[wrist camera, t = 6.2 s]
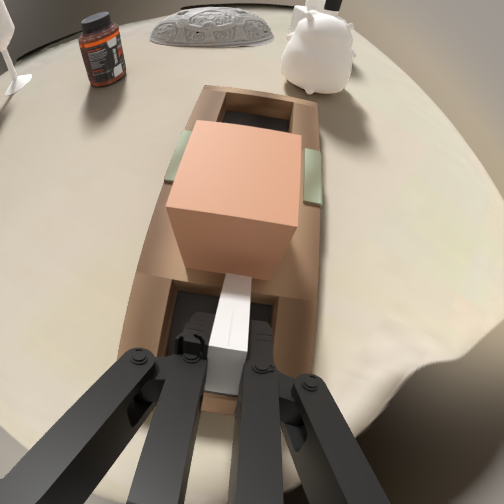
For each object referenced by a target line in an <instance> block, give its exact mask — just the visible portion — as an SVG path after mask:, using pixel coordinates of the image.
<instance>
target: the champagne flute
mask: <svg viewBox="0 0 504 504" xmlns="http://www.w3.org/2000/svg"><path fill="white" fill-rule="evenodd" d="M13 33H14V25H13V23H12V21H11V18H10V16H9V13H8V11H7V9H6V6H5V4H4V1H3V0H0V51H1V52H2V54H3V57H4V59H5V62H6V64H7V66H8V69H9V71H10V74H11V76H12V78H13V81H12V82H11V84H10V86H9V88H8V89H7V91H6V95H7V96H8V95H11V94H13V93H15V92H17V91H18V90H20V89H21V88H22V87H24V86H25V85H26V84H27V83H28V82H29V81H30V79H31V78H32V75H22V76H18V75H17V73H16V71H15V68H14V66H13V64H12V61H11V59H10V56H9V53H8V51H7V46H8V44H9V42H10V40H11V38H12V36H13Z"/></svg>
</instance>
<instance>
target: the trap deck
mask: <svg viewBox="0 0 504 504" xmlns="http://www.w3.org/2000/svg"><path fill="white" fill-rule="evenodd" d="M197 120H202V121H212V122H221V123H229V124H237V125H244V126H251V127H258V128H264V129H270V130H275V131H281V132H286V133H292V134H297V135H301V136H302V137H301V170H300V193H299V212H298V227H297V229H296V231H295V233H294V235H293V237H292V239H291V241H290V243H289V245H288V247H287V249H286V251H285V253H284V255H283V257H282V259H281V261H280V263H279V265H278V266H277V268H276V270H275V272H274V274H273V276H272V278H271V280H270V281H267V280H261V279H254V278H252V280H251V298H250V302H251V303H250V315H249V319H250V320H257V321H264V322H268V324H269V325H270V327H271V328H272V342H273V361H274V364H275V365H276V368H277V370H278V371H280V372H281V373H282V374H284V375H287V376H289V377H292V378H295V379H296V377H297V376H299V375H301V374H305V373H306V374H311V368H312V358H313V348H314V336H315V324H316V310H317V295H318V276H319V251H320V210H321V208H322V206H323V183H322V154H321V151H320V144H319V120H318V103H317V102H313V101H308V100H304V99H299V98H294V97H289V96H284V95H278V94H273V93H267V92H260V91H253V90H246V89H238V88H230V87H220V86H209V85H204V87H203V89H202V92H201V94H200V96H199V98H198V100H197V102H196V104H195V107H194V109H193V111H192V113H191V116H190V118H189V120H188V123H187V125H186V127H185V130H183V131H182V134H181V136H180V139H179V141H178V143H177V146H176V148H175V151H174V153H173V156H172V159H171V161H170V164H169V166H168V169H167V172H166V174H165V177H164V183H163V186H162V189H161V192H160V195H159V198H158V201H157V204H156V207H155V210H154V213H153V216H152V219H151V222H150V225H149V228H148V232H147V235H146V238H145V241H144V245H143V248H142V252H141V255H140V259H139V263H138V266H137V270H136V274H135V278H134V281H133V285H132V289H131V294H130V298H129V302H128V306H127V311H126V315H125V320H124V325H123V330H122V335H121V340H120V345H119V350H118V356H117V360H118V359H119V358H120V357H121V356H122V355H123V354H124V353H125V352H126V351H128V350H129V349H132V348H145V349H148V350H149V351H151V352H152V353H153V354H154V356H155V357H166V356H171V355H173V354H175V338H176V337H177V335H179V334H181V333H183V332H186V330H187V327H188V325H189V322H190V319H191V316H193V315H194V314H195V313H196V312H204V313H209V314H215V315H216V312H217V308H218V304H219V300H220V295H221V291H222V287H223V283H224V279H225V275H226V274H222V273H216V272H210V271H203V270H197V269H191V268H185V265H184V263H183V260H182V257H181V254H180V251H179V248H178V245H177V242H176V238H175V235H174V232H173V229H172V226H171V223H170V220H169V216H168V213H167V210H166V203H167V200H168V197H169V194H170V191H171V188H172V185H173V182H174V179H175V176H176V174H177V171H178V168H179V165H180V162H181V160H182V157H183V154H184V152H185V149H186V146H187V144H188V141H189V138H190V136H191V133H192V131H193V128H194V126H195V123H196V121H197ZM288 123H289V125H288ZM176 298H177V299H176ZM175 303H176V304H175ZM271 305H272V306H271ZM174 308H175V309H174ZM271 308H272V311H271ZM173 313H174V314H173ZM270 317H271V319H270ZM171 324H172V325H171ZM170 329H171V330H170ZM168 340H169V341H168ZM167 346H168V347H167ZM166 352H167V353H166ZM206 392H209V393H206ZM212 393H215V394H212ZM219 394H221V395H219ZM225 395H228V396H225ZM233 396H235V397H233ZM237 399H238V395H232V394H226V393H219V392H213V391H207V390H204V394H203V402H202V407H201V411H207V412H213V413H220V414H227V415H234V416H235V414H234V412H235V408H236V403H237Z"/></svg>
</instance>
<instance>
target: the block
mask: <svg viewBox="0 0 504 504" xmlns="http://www.w3.org/2000/svg"><path fill="white" fill-rule="evenodd" d="M301 137H302V136H301V135H297V134H292V133H286V132H281V131H275V130H270V129H264V128H258V127H251V126H244V125H237V124H229V123H221V122H212V121H202V120H197V121H196V123H195V126H194V128H193V131H192V133H191V136H190V138H189V141H188V144H187V146H186V149H185V152H184V154H183V157H182V160H181V162H180V165H179V168H178V171H177V174H176V176H175V179H174V182H173V185H172V188H171V191H170V194H169V197H168V200H167V203H166V210H167V213H168V216H169V220H170V223H171V226H172V229H173V232H174V235H175V238H176V242H177V245H178V248H179V251H180V254H181V257H182V260H183V263H184V265H185V268H191V269H197V270H203V271H210V272H216V273H222V274H226V273H231V274H237V275H243V276H249V277H252V278H254V279H261V280H267V281H270V280H271V278H272V276H273V274H274V272H275V270H276V268H277V266H278V265H279V263H280V261H281V259H282V257H283V255H284V253H285V251H286V249H287V247H288V245H289V243H290V241H291V239H292V237H293V235H294V233H295V231H296V229H297V227H298V212H299V193H300V170H301Z"/></svg>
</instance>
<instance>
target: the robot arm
mask: <svg viewBox="0 0 504 504" xmlns="http://www.w3.org/2000/svg"><path fill="white" fill-rule="evenodd" d="M251 280H252V277H249V276H243V275H237V274H231V273H226V275H225V279H224V283H223V287H222V291H221V295H220V300H219V304H218V308H217V312H216V315H215V314H209V313H204V312H196V313H195V314H194V315H193V316H191V319H190V322H189V325H188V327H187V330H186V332H183V333H181V334H179V335H177V337H176V338H175V354H173V355H171V356H166V357H155V356H154V354H153V353H152V352H151V351H149V350H148V349H145V348H132V349H129V350H128V351H126V352H125V353H124V354H123V355H122V356H121V357H120V358H119V359H118V360H117V361H116V362H115V363H114V364H113V365H112V366H111V367H110V368H109V369H108V370H107V371H106V372H105V373H104V374H103V375H102V376H101V377H100V378H99V379H98V380H97V381H96V382H95V383H94V384H93V385H92V386H91V387H90V388H89V389H88V390H87V391H86V392H85V393H84V394H83V395H82V396H81V397H80V398H79V399H78V400H77V402H76V403H75V404H74V405H73V406H72V407H71V408H70V409H69V410H68V411H67V412H66V413H65V414H64V415H63V416H62V417H61V418H60V419H59V420H58V421H57V422H56V423H55V424H54V425H53V426H52V427H51V428H50V429H49V430H48V431H47V432H46V433H45V435H44V436H43V437H42V438H41V439H40V440H39V441H38V442H37V443H36V444H35V445H34V446H33V447H32V448H31V449H30V450H29V451H28V452H27V453H26V455H25V456H24V457H23V458H22V459H21V460H20V461H19V462H18V463H17V464H16V466H14V467H13V468H12V470H11V471H10V472H9V473H8V474H7V475H6V476H5V477H4V478H3V479H0V504H84V503H85V501H86V500H87V499H88V497H89V496H90V494H91V493H92V492H93V491H94V489H95V488H96V486H97V485H98V484H99V482H100V481H101V480H102V478H103V477H104V476H105V474H106V473H107V472H108V470H109V469H110V468H111V466H112V465H113V463H114V462H115V461H116V459H117V458H118V457H119V455H120V454H121V453H122V451H123V450H124V449H125V447H126V446H127V444H128V443H129V442H130V440H131V439H132V438H133V436H134V435H135V433H136V432H137V431H138V429H139V428H140V427H141V425H142V424H143V422H144V421H145V420H146V418H147V417H148V416H149V414H150V413H151V411H152V410H153V409H154V407H155V406H156V404H157V406H156V409H155V412H154V415H153V418H152V421H151V424H150V427H149V430H148V434H147V437H146V440H145V443H144V446H143V449H142V452H141V456H140V459H139V462H138V465H137V469H136V472H135V475H134V479H133V482H132V485H131V489H130V492H129V496H128V499H127V502H126V504H184V500H185V494H186V489H187V483H188V477H189V472H190V466H191V460H192V455H193V450H194V444H195V439H196V433H197V428H198V423H199V418H200V413H201V407H202V402H203V394H204V390H207V391H213V392H219V393H226V394H232V395H238V399H237V403H236V408H235V412H234V414H235V424H234V435H233V447H232V458H231V469H230V481H229V492H228V503H227V504H283V478H282V453H281V432H280V426H281V429H282V431H283V434H284V437H285V440H286V442H287V445H288V448H289V451H290V453H291V456H292V459H293V461H294V464H295V467H296V470H297V472H298V475H299V477H300V480H301V483H302V485H303V488H304V491H305V493H306V496H307V498H308V501H309V503H310V504H390V502H389V500H388V498H387V497H386V495H385V493H384V491H383V489H382V487H381V485H380V483H379V482H378V480H377V478H376V476H375V474H374V472H373V471H372V469H371V467H370V465H369V463H368V461H367V459H366V458H365V456H364V454H363V452H362V450H361V448H360V447H359V445H358V443H357V441H356V439H355V437H354V436H353V434H352V432H351V430H350V428H349V426H348V424H347V423H346V421H345V419H344V417H343V415H342V413H341V412H340V410H339V408H338V406H337V404H336V402H335V401H334V399H333V397H332V395H331V393H330V391H329V390H328V388H327V386H326V384H325V382H324V381H323V380H322V379H321V378H320V377H318V376H316V375H313V374H306V373H305V374H301V375H299V376H297V377H296V379H295V378H292V377H289V376H287V375H284V374H282V373H281V372H280V371H278V370H277V368H276V365H275V364H274V361H273V342H272V328H271V327H270V325H269V324H268V322H264V321H257V320H250V319H249V315H250V298H251ZM157 402H158V403H157Z"/></svg>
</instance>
